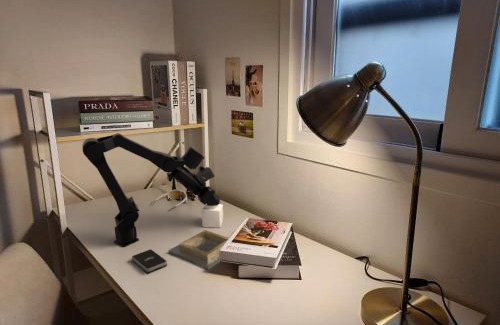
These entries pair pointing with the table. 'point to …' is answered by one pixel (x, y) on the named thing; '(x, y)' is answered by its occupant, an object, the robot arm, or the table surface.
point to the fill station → (201, 249)
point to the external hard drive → (149, 261)
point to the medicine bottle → (212, 214)
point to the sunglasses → (174, 197)
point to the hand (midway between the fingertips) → (215, 201)
